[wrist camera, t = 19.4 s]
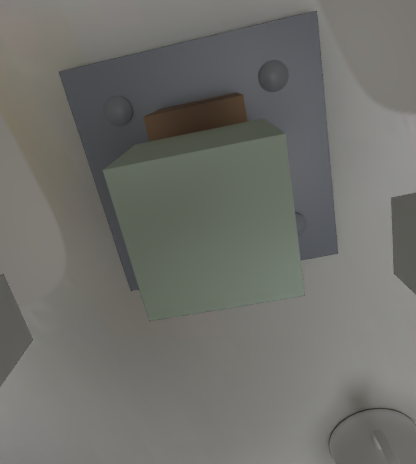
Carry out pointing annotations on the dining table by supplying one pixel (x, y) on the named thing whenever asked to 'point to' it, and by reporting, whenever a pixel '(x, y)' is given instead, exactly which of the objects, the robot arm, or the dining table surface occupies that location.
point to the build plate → (212, 85)
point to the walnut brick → (196, 116)
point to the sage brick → (209, 219)
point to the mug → (374, 439)
